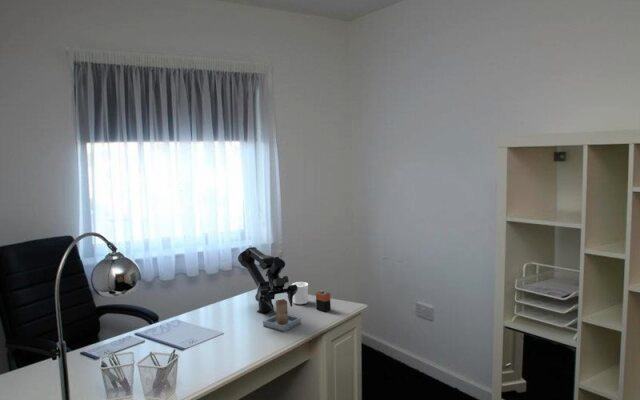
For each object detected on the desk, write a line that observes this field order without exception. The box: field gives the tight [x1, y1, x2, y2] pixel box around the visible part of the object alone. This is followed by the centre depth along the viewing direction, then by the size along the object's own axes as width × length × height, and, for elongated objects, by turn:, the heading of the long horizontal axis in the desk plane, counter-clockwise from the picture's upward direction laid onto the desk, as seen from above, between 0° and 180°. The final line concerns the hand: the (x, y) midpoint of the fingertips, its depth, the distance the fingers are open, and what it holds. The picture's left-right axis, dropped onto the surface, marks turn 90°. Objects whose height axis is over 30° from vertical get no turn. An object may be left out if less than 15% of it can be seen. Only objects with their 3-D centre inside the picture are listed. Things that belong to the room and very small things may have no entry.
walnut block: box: [275, 298, 289, 325], centre depth 223 cm, size 4×4×11 cm
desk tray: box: [262, 314, 302, 332], centre depth 224 cm, size 13×13×2 cm
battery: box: [315, 289, 331, 313], centre depth 242 cm, size 4×7×10 cm, turn 44°
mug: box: [291, 281, 309, 306], centre depth 254 cm, size 11×9×10 cm
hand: (282, 307), depth 222 cm, fingers open, 9 cm apart
